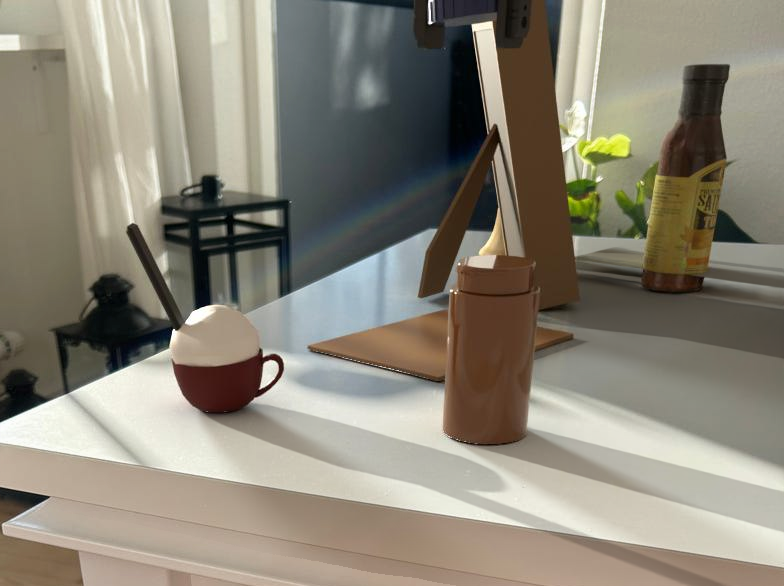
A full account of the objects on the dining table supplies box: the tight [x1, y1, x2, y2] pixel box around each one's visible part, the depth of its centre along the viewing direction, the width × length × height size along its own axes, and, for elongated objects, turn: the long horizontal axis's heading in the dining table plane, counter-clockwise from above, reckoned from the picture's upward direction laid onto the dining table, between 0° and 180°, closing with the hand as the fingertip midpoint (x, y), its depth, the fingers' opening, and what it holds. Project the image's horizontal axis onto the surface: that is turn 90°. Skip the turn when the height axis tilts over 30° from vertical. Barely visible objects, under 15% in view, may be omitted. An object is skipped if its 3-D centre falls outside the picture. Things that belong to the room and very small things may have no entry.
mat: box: [306, 308, 574, 382], centre depth 86 cm, size 18×14×1 cm
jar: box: [442, 255, 540, 445], centre depth 64 cm, size 5×5×10 cm
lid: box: [427, 0, 498, 28], centre depth 68 cm, size 6×6×2 cm
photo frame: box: [417, 0, 581, 311], centre depth 99 cm, size 15×22×25 cm
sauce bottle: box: [641, 63, 731, 293], centre depth 99 cm, size 6×6×20 cm
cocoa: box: [125, 222, 285, 413], centre depth 69 cm, size 10×6×12 cm, turn 60°
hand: (468, 47), depth 69 cm, fingers closed on lid, 6 cm apart
